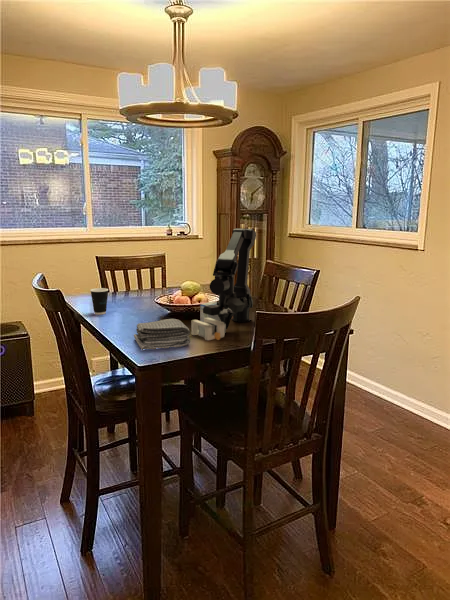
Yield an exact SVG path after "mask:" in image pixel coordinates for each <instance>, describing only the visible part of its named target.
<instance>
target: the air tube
mask: <svg viewBox="0 0 450 600" xmlns="http://www.w3.org/2000/svg"><path fill="white" fill-rule="evenodd" d="M209 324H211V325H212V335H214V334H215V332H218V325H216V324H213V323H209ZM198 330H199V334H198V336H199V337H201V338H204V339H205V327H202V326H199V325H198ZM226 331H227V329H226V324H225V323H224V335H225V333H226Z"/></svg>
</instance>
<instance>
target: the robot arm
mask: <svg viewBox="0 0 450 600" xmlns="http://www.w3.org/2000/svg"><path fill="white" fill-rule="evenodd" d="M256 240H257V232H256V231H255V230H254V228H233V229H232V235H231V237H230V239H229V242H228V244H227V247H226V249H225V251H224V252H222V253H221V254H219V256H218V258H217V260H216V262H215V265H214V268H213V269H214V270H213V273H212V276H213V277H214V279H212V280H211V281H210V282H209V290H210V291H211V293H212V294H214V295H217V296H218V302H217V301H216V302H217V305H219V306H214V305H208V306H204V308H203V313H205V314H208V315H211V316H214V315H218V316H219V318H220V321H221V322H224V323H225V324H226V330H228V329H229V326H230V323H231V321H234V322H237V321H238V322H237V323H240V322H242V323H246V322H245V321H247V322H251V321H250V320H252V318H250V309H251V308H252V309H253V308H254V306H253V305H254V300H253V297H252V294H251V289H250V287H249V285H248V279H249V267H250V266H249V265H250V254H251V249H252V248H253V246H254V245H255V241H256ZM237 256H238V259H237ZM235 275H236V281H235Z"/></svg>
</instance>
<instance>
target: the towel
mask: <svg viewBox="0 0 450 600" xmlns="http://www.w3.org/2000/svg"><path fill="white" fill-rule="evenodd" d="M136 333H137V334H135V333H134V334H133V338H134V339H135V342H136V343H137V345H138V346H139V348H140V350H141V349H142V350H141V351H144V350H143V349H152V350H157V349H156V348H164V349H170V348H169V347H175V348H182V347H181V346H183V347H186V346H189V344H190V343H191V338H190V337H189V336H190V334H191V330H190V329H189V327H188V326H187V325H185V323H184V322H182V321H181V320H180V319H176V318H168V319H166V318H164V319H161V320H156V321H149V322H141V323H137V324H136Z"/></svg>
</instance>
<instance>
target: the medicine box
mask: <svg viewBox="0 0 450 600" xmlns="http://www.w3.org/2000/svg"><path fill="white" fill-rule="evenodd" d="M208 305H214V306H219V305H217V301H210V302H205V303H200V305H199V307H200V308H199V309H200V315H199V316H200V320H199V321H202V322H204V318H207V317H209V318H212V319H215V320H218V321H221V320H220V318H219V316H218V315H214V316H211V315H208V314H205V313H203V308H204V306H208Z"/></svg>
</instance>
